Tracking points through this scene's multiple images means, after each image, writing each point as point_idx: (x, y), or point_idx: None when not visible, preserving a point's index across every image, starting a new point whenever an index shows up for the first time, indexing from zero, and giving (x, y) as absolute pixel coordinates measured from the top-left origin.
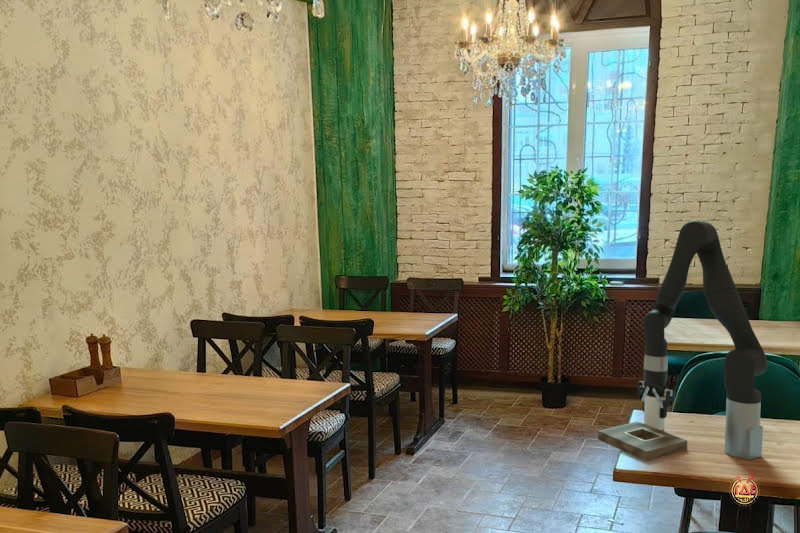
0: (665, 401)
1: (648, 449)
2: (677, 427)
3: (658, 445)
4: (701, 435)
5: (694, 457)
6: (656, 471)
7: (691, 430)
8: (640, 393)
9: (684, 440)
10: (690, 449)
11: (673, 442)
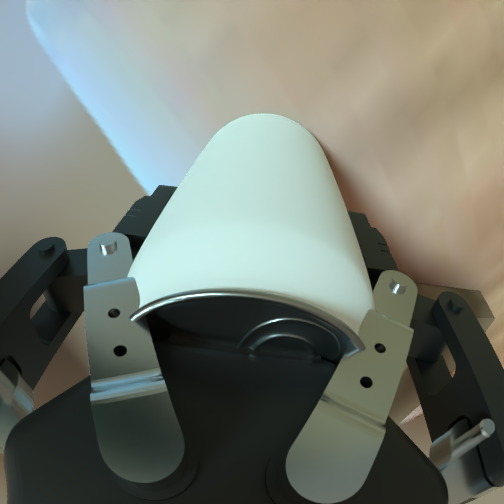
0: (421, 393)
1: (395, 421)
2: (350, 31)
3: (413, 399)
4: (498, 79)
5: (498, 319)
6: (421, 413)
7: (434, 28)
8: (59, 338)
9: (486, 324)
10: (489, 279)
11: (452, 360)
